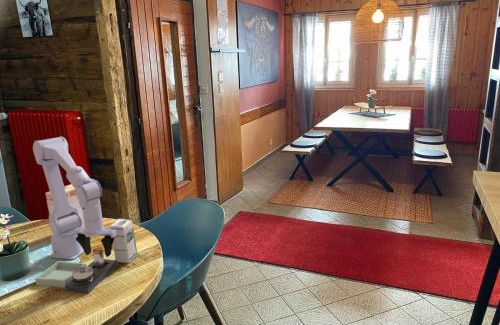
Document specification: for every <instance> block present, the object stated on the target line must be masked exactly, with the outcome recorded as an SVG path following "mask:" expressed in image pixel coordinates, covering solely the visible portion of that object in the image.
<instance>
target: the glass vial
mask: <svg viewBox="0 0 500 325" xmlns="http://www.w3.org/2000/svg"><path fill="white" fill-rule="evenodd" d="M92 254H93V261H94V263H95V269H103V268H104V267H105V261H104V259H105V256H104V247H100V246H99V247H95V248H93V249H92Z"/></svg>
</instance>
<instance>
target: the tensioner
mask: <svg viewBox="0 0 500 325" xmlns="http://www.w3.org/2000/svg"><path fill="white" fill-rule="evenodd" d="M104 261H105V267H104V268H103V269H95V263H94V260H93V261H92V262H90V263H89V264H88V265H86V267H81V268H78V269H76V270H75V271H73V273H72V280H71V281H70V282H68V283H67V284H66V285H65V288H64V290H65V292H67V293H80V294H90V293H91V292H92V291H93V290H94V289H95V288H96V287H97V286H98V285H99V284H100V283H101V282H102V281H103V280H104V279H105V278H106V277H107V276H108V275H109V274H110V273H111V272H112V271H113V270H114V269H115V268H116V267H118V262H117V260H115V259H105V258H104Z"/></svg>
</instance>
